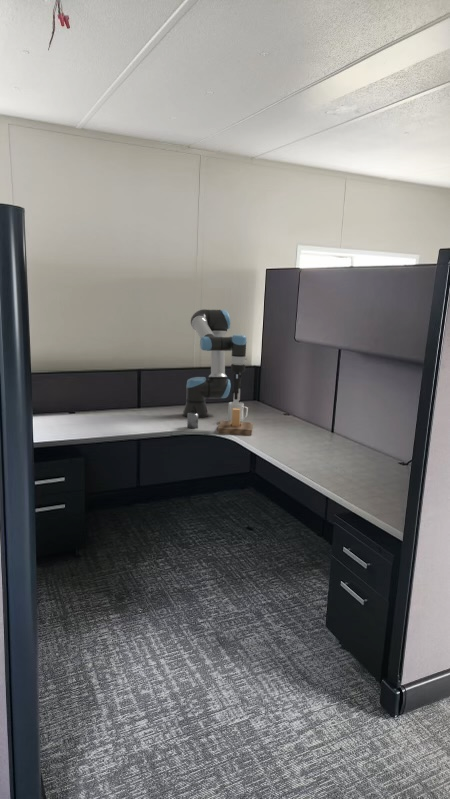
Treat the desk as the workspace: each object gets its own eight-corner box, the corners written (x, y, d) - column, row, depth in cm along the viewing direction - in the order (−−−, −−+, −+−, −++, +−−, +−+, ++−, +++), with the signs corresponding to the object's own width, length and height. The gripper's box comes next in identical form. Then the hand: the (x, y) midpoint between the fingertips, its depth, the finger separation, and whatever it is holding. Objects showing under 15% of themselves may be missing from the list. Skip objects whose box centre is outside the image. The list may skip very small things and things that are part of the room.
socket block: (217, 433, 289) (217, 428, 289) (220, 426, 307) (220, 420, 307) (251, 435, 288) (251, 429, 288) (252, 427, 306) (252, 422, 305)
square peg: (231, 431, 296) (232, 409, 294) (232, 429, 300) (232, 408, 298) (238, 431, 296) (239, 410, 293) (239, 429, 299) (240, 408, 297)
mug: (225, 422, 318) (225, 403, 316) (232, 419, 325) (233, 401, 323) (243, 425, 312) (244, 406, 310) (250, 422, 319) (251, 403, 317)
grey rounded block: (185, 427, 301) (185, 413, 300) (193, 426, 305) (193, 412, 304) (191, 429, 297) (191, 415, 295) (200, 428, 301) (200, 414, 299)
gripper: (244, 367, 279) (242, 407, 283) (246, 361, 303) (244, 398, 307) (229, 366, 279) (227, 406, 283) (232, 360, 304) (231, 397, 308)
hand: (236, 402), depth 295 cm, fingers open, 13 cm apart
